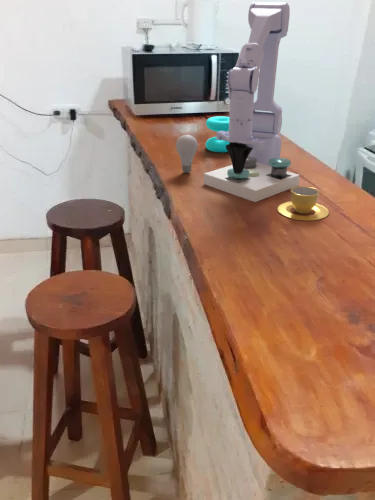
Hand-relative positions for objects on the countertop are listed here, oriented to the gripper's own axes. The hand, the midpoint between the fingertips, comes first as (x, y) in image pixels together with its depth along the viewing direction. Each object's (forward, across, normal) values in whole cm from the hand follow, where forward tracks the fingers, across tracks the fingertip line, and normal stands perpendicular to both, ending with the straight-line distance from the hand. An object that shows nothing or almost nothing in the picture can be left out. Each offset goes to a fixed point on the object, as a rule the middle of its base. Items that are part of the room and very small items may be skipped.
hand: (238, 171), depth 132 cm
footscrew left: (+3, +6, +10) cm, 12 cm away
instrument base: (+5, 0, +6) cm, 7 cm away
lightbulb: (+5, -19, 0) cm, 20 cm away
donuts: (+5, -30, +25) cm, 39 cm away
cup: (+5, +20, +1) cm, 21 cm away
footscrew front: (+5, 0, 0) cm, 5 cm away
